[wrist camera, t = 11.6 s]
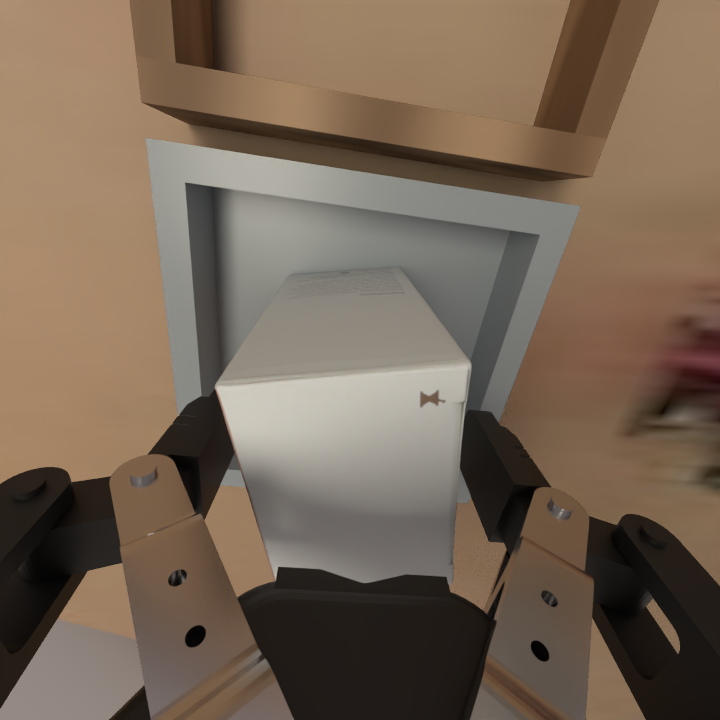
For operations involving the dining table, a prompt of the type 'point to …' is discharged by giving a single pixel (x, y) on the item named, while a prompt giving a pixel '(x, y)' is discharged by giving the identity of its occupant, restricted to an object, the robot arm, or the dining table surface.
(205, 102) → the frame
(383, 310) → the small box
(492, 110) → the dining table surface
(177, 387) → the tray
